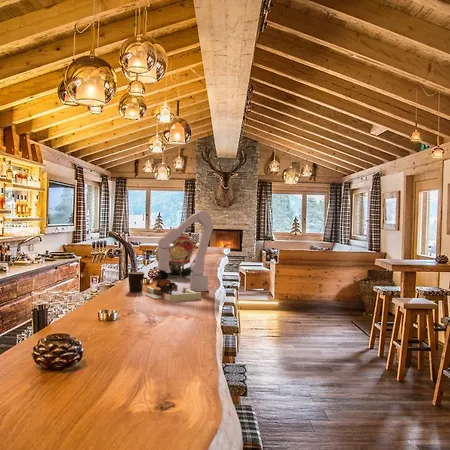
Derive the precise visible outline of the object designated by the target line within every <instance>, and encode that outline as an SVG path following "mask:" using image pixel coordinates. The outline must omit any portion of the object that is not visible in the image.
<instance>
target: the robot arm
mask: <svg viewBox="0 0 450 450" xmlns="http://www.w3.org/2000/svg"><path fill="white" fill-rule="evenodd" d="M195 223H199V224H200V225H201V227H202V228H203V229H202V234H201V235H200V240H199V243H198V247H197V249H196V254H195V257H194V259H193V261H192V262H190V263H191V264H190V266H189V267H190V269H191V271H192V272H191V273H190V277H189V278H190V279H189V281H190V282H189V288H187V289H188V290H190V291H193V292H196V293H197V292H207V291H209V278H208V277H209V276H208V275H207V274H206V273H204V271H205V257H206V254H207V251H208V247H209V243H210V240H211V236H212V233H213V229H214V225H213V223H212V217H211V215H210V214H209V212H208V211H207V210H202V209H201V210H197V211H196V212H195V213H193V214H191V215H190V216H189V217H188V218H187V219H185V220H184V221H183V222H182V223H181V224H180V225H179V226H178V227H172V228H170V229H169V231H167V233H166V234H163V236H162V237H160V238H159V239H158V242H157V244H158V246H159V251H158V262H157V265H156V268H155V269H156V270H157V272H156V273H157V275H158V278H159V280H163V279H166V280H168V278H167V277H168V275H169V273H171V269H169V246H171V244H173V242H174V241H175V240H176V239H177V238H178V237H180V236H181V232H184V230H186V229H187V228H188V227H189V226H191V225H192V224H195Z"/></svg>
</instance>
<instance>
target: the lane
mask: <svg viewBox="0 0 450 450" xmlns="http://www.w3.org/2000/svg"><path fill="white" fill-rule="evenodd" d="M188 289H189V288H187V287H183V288H182V290H181V292H182V293H175V294H172V293H171V294H169V293H168V294H167V293H163V294H162V296H160V295H158V292H157V290H158V288H153V287H152V286H146V287H145V291H146V292H147V293H146V294H145V296H146V297H148V298H150V299H152V300H163V299H164V300H166V301H168V302H171V303H172V302H183V301H193V300H194V301H195V300H201V299H202V291H198V292H193V291H190V290H188ZM173 291H178V284H176V288H175V289H174V290H173Z"/></svg>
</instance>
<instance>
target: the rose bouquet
mask: <svg viewBox="0 0 450 450" xmlns="http://www.w3.org/2000/svg"><path fill="white" fill-rule="evenodd" d="M192 237H193V236H192V234H191V235H189V234H188V233H186V232H184V231H182V232H181V236H180V237H178V238H177V239H176V240H175V241H174V242H172V245H170V246H169V269H171V273H169V275H168V277H167V279H185V278H186V279H188V278H190V273H191V272H192V271H191V269H190V266H188V267H186V268H185V266H186V265H187V264H190V263H191V259H192V257H193V254H194V251H197V249H196V248H195V246H194V245H196V244H197V242H196V241H194V240H193V239H191V238H192ZM194 248H195V249H194ZM158 251H159V245H158V247H157V248H156V250H155V251H154V255H155V261H156V262H157V263H158Z"/></svg>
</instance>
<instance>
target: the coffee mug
mask: <svg viewBox="0 0 450 450" xmlns="http://www.w3.org/2000/svg"><path fill="white" fill-rule="evenodd" d="M127 276H128V277H127V278H128V289H129V290H128V291H129V293H135V294H137V293H142V292H143V287H144V279H145V272H144V271H128V272H127Z"/></svg>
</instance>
